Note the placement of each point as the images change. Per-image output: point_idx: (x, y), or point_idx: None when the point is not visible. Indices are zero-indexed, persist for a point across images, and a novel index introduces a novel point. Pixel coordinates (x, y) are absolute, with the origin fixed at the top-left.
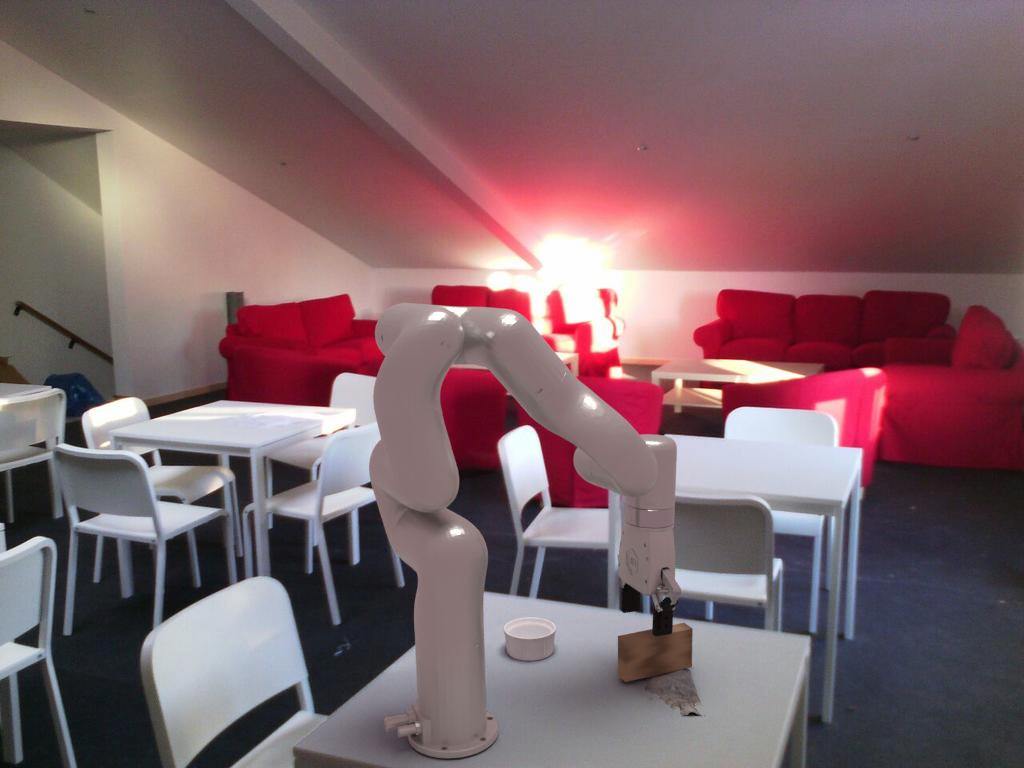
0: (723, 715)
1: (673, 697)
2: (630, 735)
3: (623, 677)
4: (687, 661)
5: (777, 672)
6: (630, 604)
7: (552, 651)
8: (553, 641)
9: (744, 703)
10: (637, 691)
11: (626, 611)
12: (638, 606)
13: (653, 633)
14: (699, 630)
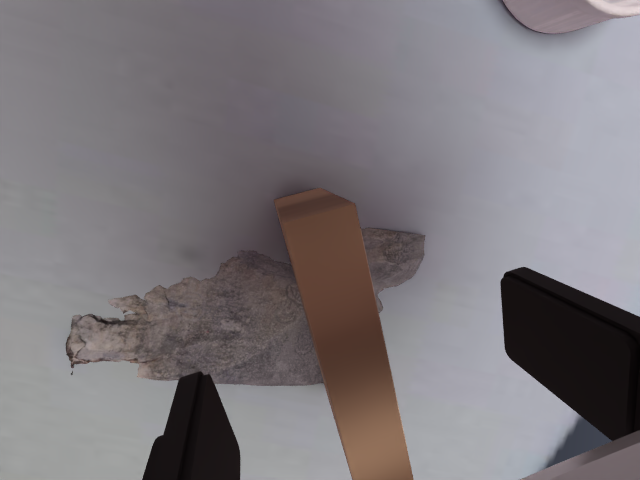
0: (73, 418)
1: (180, 316)
2: None
3: (285, 198)
4: (328, 397)
5: None
6: (534, 328)
7: (521, 19)
8: (549, 9)
9: (137, 475)
10: (236, 226)
11: (504, 291)
12: (522, 360)
13: (181, 380)
14: (519, 441)
